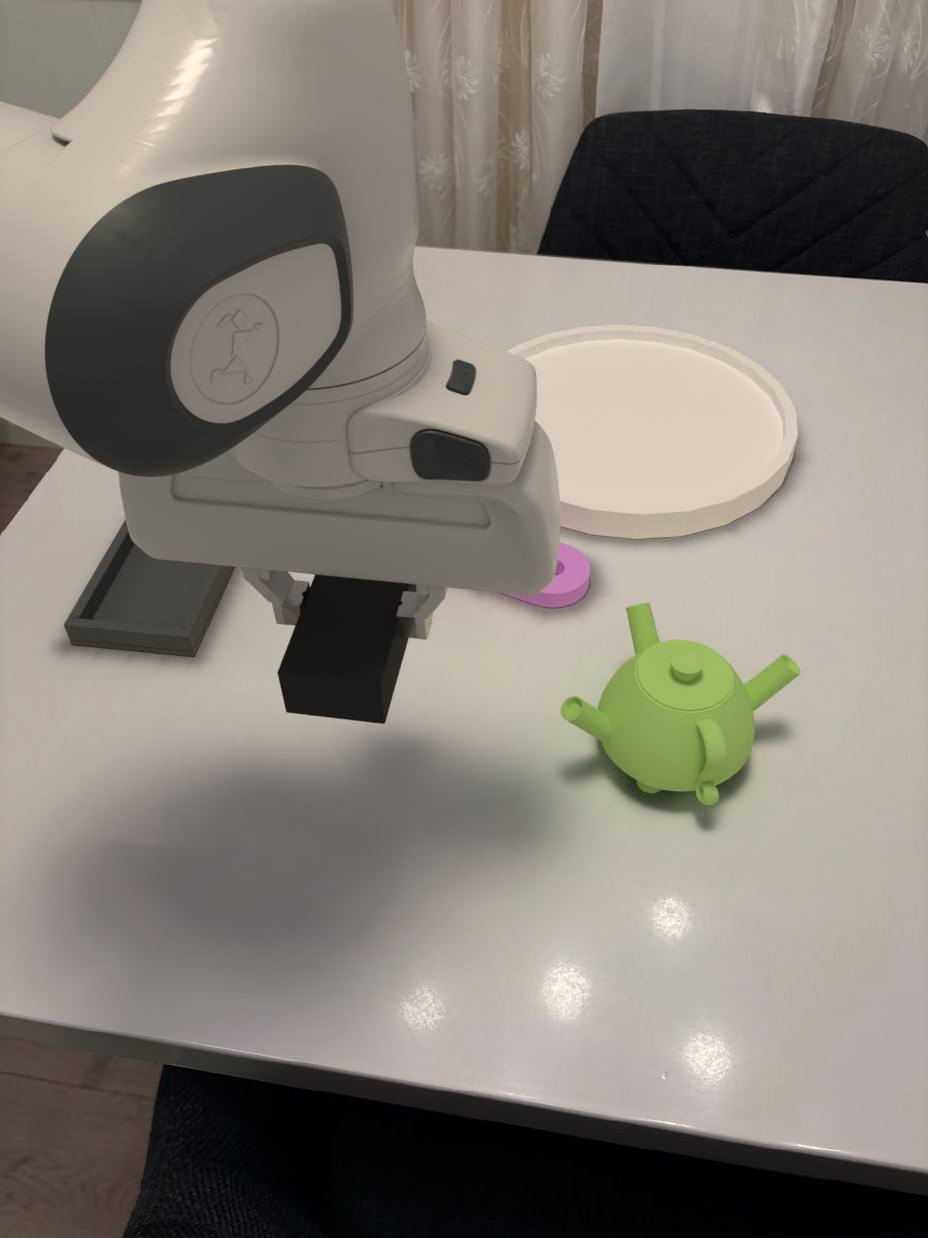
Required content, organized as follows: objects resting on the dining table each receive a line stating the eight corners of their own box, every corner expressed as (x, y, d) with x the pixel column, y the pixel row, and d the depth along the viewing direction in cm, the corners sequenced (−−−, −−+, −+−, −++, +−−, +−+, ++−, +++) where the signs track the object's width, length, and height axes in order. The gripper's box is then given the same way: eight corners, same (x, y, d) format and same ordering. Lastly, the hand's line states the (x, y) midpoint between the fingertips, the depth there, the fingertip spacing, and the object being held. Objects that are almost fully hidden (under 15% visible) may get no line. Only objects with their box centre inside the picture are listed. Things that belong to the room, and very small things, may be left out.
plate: (863, 472, 86) (871, 447, 84) (572, 583, 77) (574, 558, 75) (666, 320, 104) (669, 297, 102) (411, 397, 95) (409, 373, 93)
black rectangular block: (385, 724, 51) (380, 684, 49) (285, 713, 51) (276, 672, 49) (423, 584, 58) (421, 543, 55) (336, 575, 58) (330, 534, 56)
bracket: (412, 563, 79) (407, 490, 74) (447, 520, 83) (443, 448, 78) (571, 616, 75) (576, 543, 70) (600, 569, 78) (607, 496, 73)
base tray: (194, 657, 73) (188, 637, 71) (71, 644, 74) (62, 624, 72) (251, 530, 82) (246, 511, 81) (141, 521, 83) (134, 501, 82)
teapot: (718, 856, 61) (743, 768, 55) (545, 773, 65) (550, 683, 59) (785, 727, 67) (814, 636, 61) (624, 659, 72) (636, 568, 66)
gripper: (57, 415, 43) (140, 646, 52) (558, 455, 40) (545, 691, 50) (118, 335, 47) (183, 562, 57) (573, 366, 44) (559, 599, 54)
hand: (356, 623), depth 53 cm, fingers closed on black rectangular block, 5 cm apart
